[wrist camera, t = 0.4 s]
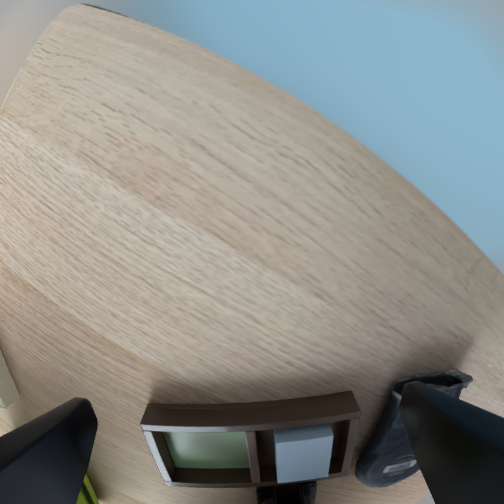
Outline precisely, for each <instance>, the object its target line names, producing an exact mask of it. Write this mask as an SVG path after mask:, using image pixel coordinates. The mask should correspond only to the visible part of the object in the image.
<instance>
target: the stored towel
mask: <svg viewBox="0 0 504 504" xmlns="http://www.w3.org/2000/svg"><path fill="white" fill-rule="evenodd" d="M332 444H333V432H332V429H331V426H330V423H325V424H318V425H311V426H303V427H295V428H286V429H275V430H274V445H275V463H276V473H277V482H278V483H286V482H295V481H303V480H310V479H317V478H323V477H328V472H329V465H330V458H331V451H332Z"/></svg>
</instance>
